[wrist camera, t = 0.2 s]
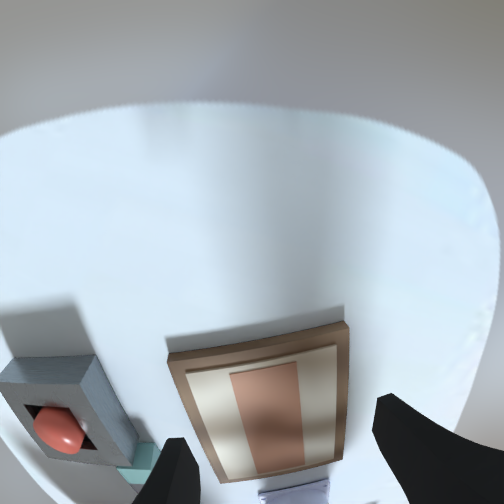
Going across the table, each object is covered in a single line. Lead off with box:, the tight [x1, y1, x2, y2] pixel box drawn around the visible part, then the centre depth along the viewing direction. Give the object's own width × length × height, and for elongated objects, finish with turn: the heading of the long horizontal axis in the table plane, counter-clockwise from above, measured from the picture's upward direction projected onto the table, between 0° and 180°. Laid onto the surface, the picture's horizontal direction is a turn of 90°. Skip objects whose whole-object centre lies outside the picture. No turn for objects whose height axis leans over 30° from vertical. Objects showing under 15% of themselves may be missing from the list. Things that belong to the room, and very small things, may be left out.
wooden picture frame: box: [167, 321, 349, 484], centre depth 21 cm, size 16×12×1 cm
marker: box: [116, 443, 161, 493], centre depth 22 cm, size 12×3×3 cm, turn 9°
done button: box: [33, 406, 86, 454], centre depth 16 cm, size 4×4×2 cm
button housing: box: [0, 355, 139, 467], centre depth 18 cm, size 9×9×4 cm
